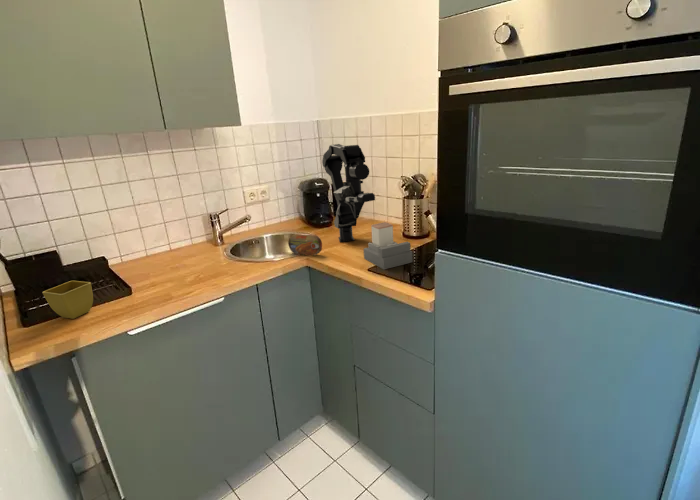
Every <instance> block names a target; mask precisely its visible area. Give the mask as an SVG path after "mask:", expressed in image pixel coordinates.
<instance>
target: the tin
mask: <svg viewBox="0 0 700 500" xmlns="http://www.w3.org/2000/svg"><path fill="white" fill-rule="evenodd" d="M287 243H288V248H289V250H290V251H291V252H292V253H293V254H295V255H299V254H305V255H304V256H309V255H314V256H316V255H318V254H320V252H321V251H322V249H323V242H322V239H321V238H320V237H319V236H318V235H316V234H311V233H310V234H309V233H294V234H292V235H290V236H289V238H288V240H287Z"/></svg>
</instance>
